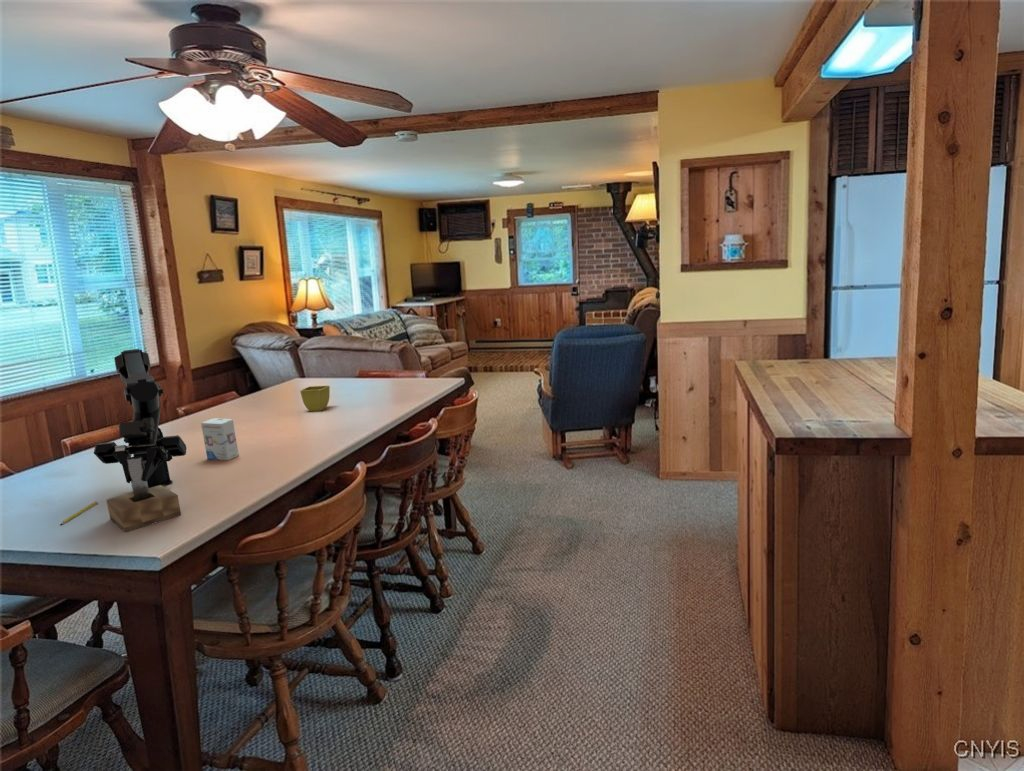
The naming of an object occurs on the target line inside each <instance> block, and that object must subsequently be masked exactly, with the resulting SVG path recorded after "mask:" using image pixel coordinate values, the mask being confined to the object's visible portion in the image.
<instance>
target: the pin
mask: <svg viewBox="0 0 1024 771" xmlns="http://www.w3.org/2000/svg"><path fill="white" fill-rule="evenodd" d="M127 464H128V469H129V474H130V479H131V482H130V485H131V490H132V493H133V495H134V500H135V502H138V501H141V500H145V499H148V498H150V495H149V489H148V484H147V481H144V480H143V475H144V469H145V468H144V463H143V457H142V456H134V457H133V456H131V457H130V458H128V459H127Z"/></svg>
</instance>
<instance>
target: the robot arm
mask: <svg viewBox="0 0 1024 771" xmlns="http://www.w3.org/2000/svg"><path fill="white" fill-rule="evenodd" d="M113 360H114V365H115V372H116V374H119V376H120V381H121V382H122V383H124V385H125V386H124V387H123V394H124V399H125V401H126V402H129V405H131V406H132V409H133V415H132V421H125V422H123V421H121V422H119V423H118V436H119V437H120V438H123V442H124V443H125V444H120V445H119V444H118V445H117V443H116V442H115V441H110V442H99V443H97V444H96V445H95V446H94V450H93V454H94V456H96V458H98V460H100V462H102V464H106V465H107V464H108V465H109V464H118V463H119V464H120V465H121V466H122V470H123V473H124V477H125V480H126V483H128V484H131V479H130V474H129V469H128V464H127V459H128V458H130V457H134V456H142V457H143V463H144V468H145V469H144V475H143V480H144V481H147V484H148V488H151V487H155V486H159V485H162V486H165V485H169V484H173V480H171V476H170V472H169V466H168V462H171V460H173V457H181V456H182V457H183V456H185V455H186V454H187V445H186V443H185V442H184V440H183V439H182V437H181V436H180V435H177V434H176V435H168V436H164V434H163V432H162V429H161V428H160V427H159V425H160V424H159V423H160V416H161V406H160V398H159V397H162V394H164V388H163V387H162V386H161V385H159V383H158V382H156V381H155V379H154V376H153V375H150V374H149V370H151V362H150V356H149V353H147V352H144V351H143V350H142V349H139V348H134V349H125V350H123V351H120V354H118V355H117V356H115V357H114V358H113ZM126 444H127V445H126Z"/></svg>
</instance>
